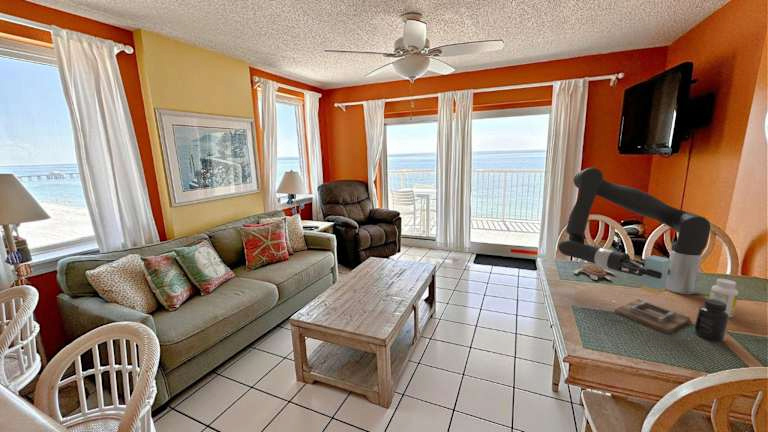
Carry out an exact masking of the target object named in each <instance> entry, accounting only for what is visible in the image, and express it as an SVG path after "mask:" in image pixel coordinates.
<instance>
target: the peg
mask: <svg viewBox="0 0 768 432" xmlns="http://www.w3.org/2000/svg"><path fill="white" fill-rule="evenodd" d="M670 260H671V259H669V258H668V257H667V258H666V257H663V256H658V255H654V254H653V255H649V256H647V257H645V266H644V268H647V269H648V270H649V269H650V270H654V271H658V272H661V273H662V278H660V279H658V278H655V277H651V276H648V275H647V276H644V275H642V278H641V279H642V280H641V287H640V289H641V290H643V291H645V292H649V293H652V294H656V295H660V294H663V293H664V292H666V290H667V289H666V283H667V277H668V271H669V266H670Z"/></svg>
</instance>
